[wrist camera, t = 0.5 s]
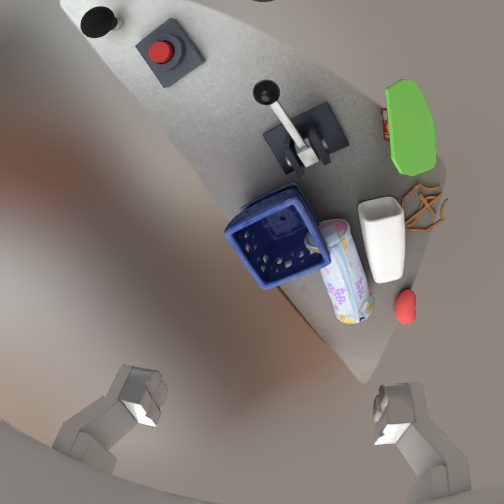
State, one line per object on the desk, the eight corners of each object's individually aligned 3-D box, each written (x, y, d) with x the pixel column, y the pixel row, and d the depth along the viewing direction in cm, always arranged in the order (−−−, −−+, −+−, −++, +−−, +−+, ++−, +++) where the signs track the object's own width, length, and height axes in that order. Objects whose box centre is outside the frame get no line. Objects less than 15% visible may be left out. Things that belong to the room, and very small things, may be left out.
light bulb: (123, 4, 39) (92, -2, 30) (138, 24, 41) (107, 19, 33) (101, 25, 41) (68, 23, 33) (115, 44, 43) (83, 44, 35)
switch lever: (246, 84, 34) (248, 94, 32) (269, 71, 33) (273, 81, 31) (298, 157, 44) (303, 171, 42) (318, 147, 43) (323, 161, 41)
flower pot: (330, 229, 58) (335, 266, 48) (269, 254, 63) (262, 293, 53) (298, 169, 53) (297, 195, 43) (234, 200, 58) (219, 232, 48)
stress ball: (423, 312, 57) (397, 299, 59) (408, 333, 63) (384, 322, 66) (428, 294, 59) (404, 282, 62) (414, 316, 66) (392, 305, 69)
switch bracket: (263, 133, 50) (252, 150, 40) (326, 101, 46) (333, 110, 36) (286, 172, 53) (282, 199, 44) (348, 143, 49) (359, 163, 39)
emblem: (455, 210, 51) (453, 209, 51) (431, 172, 48) (429, 171, 48) (409, 246, 57) (408, 244, 57) (382, 212, 53) (381, 210, 54)
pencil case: (372, 291, 64) (379, 322, 56) (335, 302, 67) (337, 333, 59) (345, 207, 55) (351, 233, 47) (301, 222, 58) (300, 250, 50)
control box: (140, 46, 44) (129, 45, 40) (175, 19, 40) (166, 16, 37) (168, 87, 48) (159, 88, 44) (205, 61, 44) (198, 60, 41)
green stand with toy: (386, 76, 34) (351, 80, 39) (395, 182, 40) (362, 177, 45) (430, 84, 41) (401, 84, 46) (436, 167, 47) (407, 163, 52)
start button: (149, 51, 41) (144, 50, 39) (166, 37, 40) (162, 37, 38) (160, 66, 42) (155, 66, 41) (177, 53, 41) (173, 53, 40)
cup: (373, 290, 56) (365, 223, 48) (365, 266, 61) (355, 203, 54) (408, 281, 54) (406, 213, 46) (397, 258, 60) (392, 194, 52)
